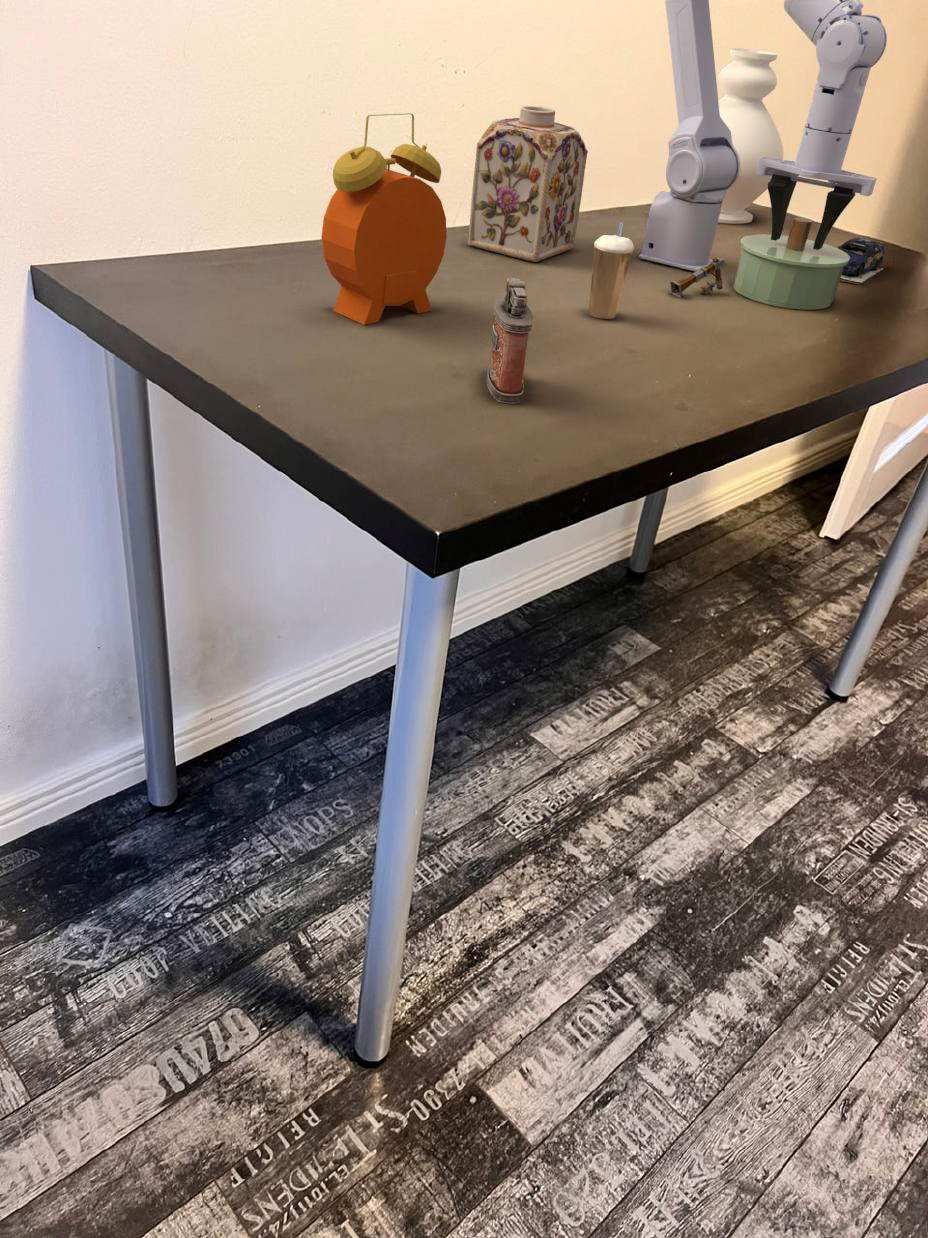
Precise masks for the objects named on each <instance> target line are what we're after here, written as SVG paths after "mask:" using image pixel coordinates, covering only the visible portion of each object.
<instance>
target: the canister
mask: <svg viewBox="0 0 928 1238" xmlns="http://www.w3.org/2000/svg"><path fill="white" fill-rule="evenodd" d="M843 268H844V266H841V267H834V268H817V267H806V266H798V265H792V264H786V263H781V262H777V261H773V260H769V259H765V258H762V257H759V256H757V255H754V254H752V253H750V252H748V251H746V250H744V249H743V248H742V247H741V251H740V255H739V260H738V264H737V267H736V272H735V276H734V281H733V289H734V291H735V292H737V293H738V294H739V295H741V296H743V297H745V298H747V299H749V300H752V301H754V302H758V303H761V304H765V305H768V306H773V307H778V308H784V309H791V310H800V311H801V310H804V311H813V310H814V311H815V310H823V309H826V308H829V307H831V306H832V304H833V301H835V297H836V294H837V290H838V288H839V284H840V282H841V281H840V278H841V275H842V272H843Z"/></svg>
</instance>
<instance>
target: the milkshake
mask: <svg viewBox="0 0 928 1238" xmlns="http://www.w3.org/2000/svg"><path fill="white" fill-rule="evenodd" d="M624 225H625V222H619V226H618V230H617V234H613V235H610V234H609V235H608V234H603V235H601V236H599V237H598V238H597V239H596V240H595V241H594V243H593V257H592V271H591V280H590V281H591V282H590V291H589V292H590V293H589V300H588V301H589V302H588V314H589V315H590V316H591V317H593V318H595V319H599V320H613V319H615V317H616V316H617V312H618V307H619V304H620V299H621V297H622V292H623V288H624V285H625V280H626V276H627V273H628V270H629V266H630V264H631V260H632V256H633V252H634V249H635V245H634V242H633V241H632V240H631V239H630V238H628V237H625V236H622V234H623V230H624Z"/></svg>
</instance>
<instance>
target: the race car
mask: <svg viewBox="0 0 928 1238" xmlns="http://www.w3.org/2000/svg"><path fill="white" fill-rule="evenodd" d="M879 244H880V245H879ZM881 245H882V246H881ZM837 248H838V249H840V250H842V251H844V252H845V253H847V254H848V255H849V257H850V260H849V263H848V264H847V265H845V266H844V268H843V272H842V275H841V278H840V281H839V282H843V283H850V284H855V285H862V284H864V283H865V282H867V281H868V280H870V279H871V278H873V277H875V276H876V275H877V274H878V273H880V272H881V271H883V270H885V268H883V267H882V268H881V267H880V266H881V264H882V262H883V260H884V258H885V248H886V242H881V241H878V240H873V239H869V238H865V237H853V238H851V239H848V240H846V241H844V243H842V244H840V245H838V246H837ZM879 267H880V268H879Z"/></svg>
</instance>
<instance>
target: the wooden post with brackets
mask: <svg viewBox="0 0 928 1238" xmlns="http://www.w3.org/2000/svg"><path fill="white" fill-rule="evenodd" d="M725 262H726V259H725V257H721V258H720V257H714V259H713V261H712V262H710V264H709V265H708V266H706V267H704V268H700V270H699V269H698V270H697V271H696V272H695V271H693V273H691V275H689V276H687V277H685V278H683V279H681V280H678V281H676V280H669V284H670V290H671V291H670V292H671V295H674V296H676V297H678V298H681V297H683V292H684V291H685V290H686V289H688V288H689V287H691V286H692V285H694V284H695V283H699V282H700V281H701V280H703V279H705V278H707V277H708V275H709V274H710V275H711V276H713V277H714V282H708V281H706V284H704V285H701V286H700V289H699V294H701V295H703V294H704V295H707V294H708V293H710V292H712V293H713V292H714V289H713V288H716V290H719V291H721V290H722V289H724V287H723V284H724V281H723V278H722V273H721V268H722V267H724V264H725Z"/></svg>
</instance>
